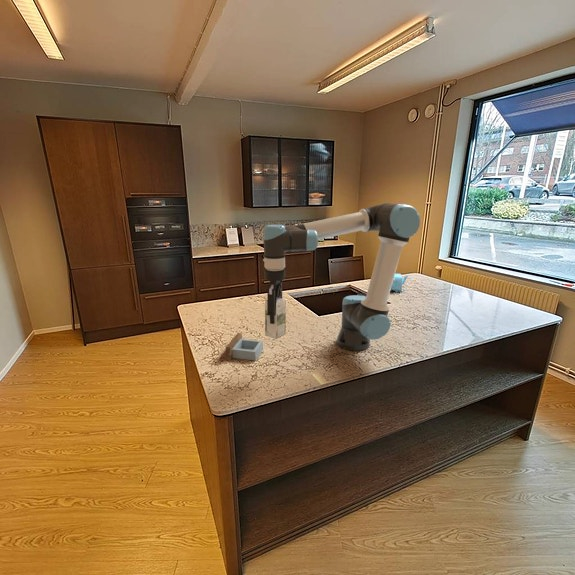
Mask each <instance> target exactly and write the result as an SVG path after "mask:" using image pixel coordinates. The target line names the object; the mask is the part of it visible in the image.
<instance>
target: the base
mask: <svg viewBox="0 0 575 575" xmlns="http://www.w3.org/2000/svg"><path fill="white" fill-rule="evenodd" d="M240 339H243V333H242V332H241V333H240V332H237V334H235V335H234V336H233V338H232V339H231V340H230V341H229V343H228V344H227V345H226V346H225V350H224V351H223V353H222V354H220V356H219V359H220V360H224V361H225V360H226V361H232V360H233V359H234V358H233V357H232V349H233V347H234V346H235V345H236V344H237V343H238V341H239V340H240Z"/></svg>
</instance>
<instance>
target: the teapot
mask: <svg viewBox="0 0 575 575" xmlns="http://www.w3.org/2000/svg"><path fill="white" fill-rule="evenodd" d="M410 276H411V275H410V274H408V275H407V274H406V275H404V277H403V275H402V274H401V273H395V276H394V280H393V283H392V287H391V290H390V291H395V292H394V293H399V291H402V290H403V289H402V288H403V285H404V284H405V282H406V281H407V279H408V277H410Z"/></svg>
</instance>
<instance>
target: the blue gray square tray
mask: <svg viewBox="0 0 575 575" xmlns="http://www.w3.org/2000/svg"><path fill="white" fill-rule="evenodd" d="M263 344H264V342H263V340H258V339H247V338H242V339H240V340H239V341H238V343H237V344H236V345H235V346H234V347H233V349H232V357H233V358H232V359H237V360H238V359H240V360H247V361H257V359H258V358H259V356H260V355H261V353H262V351H263V350H264V347H263V346H264V345H263Z"/></svg>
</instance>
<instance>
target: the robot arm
mask: <svg viewBox="0 0 575 575" xmlns="http://www.w3.org/2000/svg"><path fill="white" fill-rule="evenodd" d="M420 225H421V217H420V214H419V212H418V210H417V209H416V208H415V207H414V206H412V205H409V204H405V203H387V202H385V203H380V204H376V205H373V206H372V205H371V206H369V207H365V208H361V209H359V210H358V212H357V211H356V212H353V213H348V214H344V215H339V216H335V217H329V218H323V219H319V220H315V221H310V222H305V223H302V224H301V223H300V224H295V225H293V224H289V225H284V224H268V225H265V226H264V228H263V255H264V257H263V259H262V261H263V262H264V264H263V265H264V268H265V269H264V270H263V271H264V272H263V273H264V274H263V275H264V279H265V281H268V282H269V284H268V288H267V289H266V292H267V293H266V294H267V299H266V300H267V315H269V331H275V332H276V331H277V315H276V303H277V297H278V298H282V299H283V281H284V280H285V278H286V253H287V252H309V251H315V250H316V249H318V246H319V240H323V239H327V238H333V237H337V236H340V235H341V236H342V235H346V234H347V235H348V234H351V233H356V232H360V231H361V232H362V233H363V232H364V233H367V232H378V234H377V238H378V240H379V241H380V243H379V247H378V251H377V253H376V258H375V262H374V266H373V269H372V274H371V277H370V281H369V284H368V288H367V292H366V296H365V295H357V294H355V295H347V296H345V297H343V299H342V306H341V307H342V308H341V309H342V310H341V327H340V330H339V332H338V335H337V337H336V343H337V345H338V346H339V347H340V348H342V349H344V350H347V351H355V352H357V351H363V350H364V351H365V350H367V349H369V347H370V344H371V340H374V341H375V340H376V341H377V340H378V339H382V338H383V337H385V336H386V335H387V334H388V333H389V331H390V329H391V326H392V325H391V320H390V317H388V315H389V311H390V307H389V306H388V301H389V297H390V293H391V291H392V290H391V287H392V283H393V280H394V276H395V274H397V273H396V272H397V268H398V265H399V261H400V258H401V255H402V251H403V247H404V246H405V245H407V244H408V243H409V241H410V237H413V236H414V234H415V235H416V233H417V232H418V230H419V229H420Z"/></svg>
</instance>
